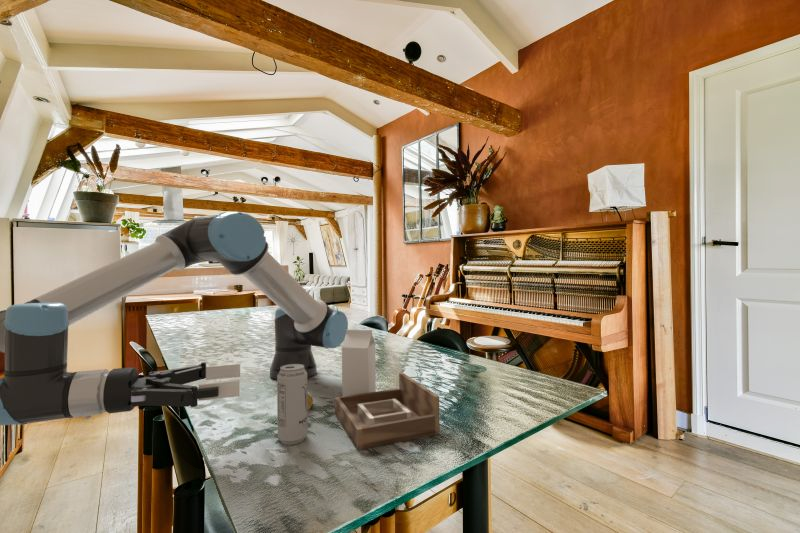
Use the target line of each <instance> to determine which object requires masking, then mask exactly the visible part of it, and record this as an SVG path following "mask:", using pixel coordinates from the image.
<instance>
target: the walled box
mask: <svg viewBox="0 0 800 533" xmlns="http://www.w3.org/2000/svg"><path fill="white" fill-rule="evenodd" d="M334 415H335V416H336V418H337V419H338V422H339V423H340V425H341V427H342V428H343V429H344V431H345V433H346V434H347V436H348V438H349V439H350V440H351V441H350V442H352V444H353V445H354V447H355V448H356V451H361V450H366V449H371V448H377V447H380V446H382V447H383V446H386V445H392V444H397V443H402V442H407V441H411V440H416V439H422V438H427V437H431V436H432V437H433V436H437V435H440V395H438V394H436V393H435V392H433V391H432V390H430V389H429V388H428V387H425V386H424V385H422V384H421V383H419V382H418V381H416V380H415V379H414V378H412V377H410V376H409V375H407V374H406V373H404V372H399V374H398V388H394V389H385V390H378V391H377V390H376V392H370V393H363V394H356V395H348V396H342V395H340V396H336V397H334Z"/></svg>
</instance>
